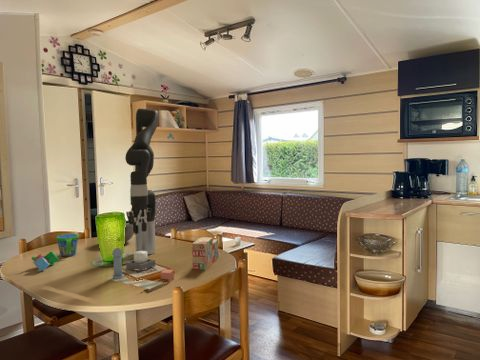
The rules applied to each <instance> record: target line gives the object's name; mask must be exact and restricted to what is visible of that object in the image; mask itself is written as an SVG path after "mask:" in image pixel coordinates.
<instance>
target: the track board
mask: <svg viewBox="0 0 480 360" xmlns="http://www.w3.org/2000/svg"><path fill="white" fill-rule="evenodd" d="M142 279H143V280H139V281H136V280H135V281H133V280H130V279H128V278H127V277H123V278H121V279H113V276H111V277H108V278H107V280H108V281H113V282H117V283H121V284H126V285H130V286H135V287H139V288H143V289H144V290H143V292H146V293H151V292H153V291H155V290H157V289H160V288H162V287H164V282H163V283H162V282H157V281H154V280H149V279H145V278H142Z"/></svg>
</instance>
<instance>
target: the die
mask: <svg viewBox="0 0 480 360" xmlns="http://www.w3.org/2000/svg"><path fill="white" fill-rule="evenodd" d="M160 279H161V280H165V281H163V283H171V282H172V281H174V280H175V269H174V270H173V269H167V268H165V269H163V270H162V271H160Z"/></svg>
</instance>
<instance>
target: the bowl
mask: <svg viewBox="0 0 480 360" xmlns="http://www.w3.org/2000/svg"><path fill="white" fill-rule="evenodd" d="M125 221H126V227H125V243H127V242H129V241H130V240H131V239H133V236H134V234H135V233H134V232H133V225H132V224H129V221H128V220H125Z"/></svg>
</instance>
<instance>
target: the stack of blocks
mask: <svg viewBox="0 0 480 360" xmlns="http://www.w3.org/2000/svg"><path fill="white" fill-rule="evenodd" d="M191 248H192V249H191V251H192V270H199V271H200V270H202V271H203V270H204V271H206V270H207V269H209V267H210V266H212V264H213V263H214V262H215V261H217V259H218V258H219V240H218V239H216V238H215V239H213V237H207V236H206V237H205V236H203V237H199V238H198V239H196V240H195V241H193V242H192V247H191Z"/></svg>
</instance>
